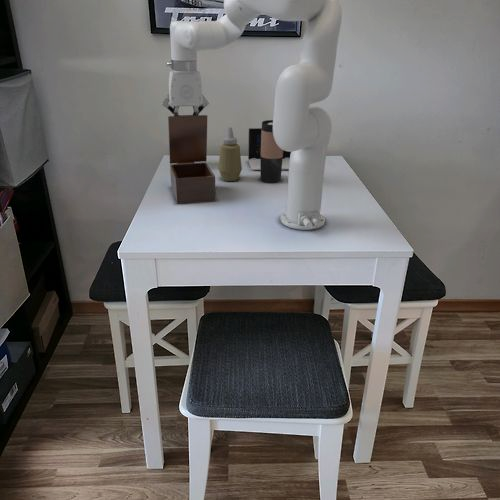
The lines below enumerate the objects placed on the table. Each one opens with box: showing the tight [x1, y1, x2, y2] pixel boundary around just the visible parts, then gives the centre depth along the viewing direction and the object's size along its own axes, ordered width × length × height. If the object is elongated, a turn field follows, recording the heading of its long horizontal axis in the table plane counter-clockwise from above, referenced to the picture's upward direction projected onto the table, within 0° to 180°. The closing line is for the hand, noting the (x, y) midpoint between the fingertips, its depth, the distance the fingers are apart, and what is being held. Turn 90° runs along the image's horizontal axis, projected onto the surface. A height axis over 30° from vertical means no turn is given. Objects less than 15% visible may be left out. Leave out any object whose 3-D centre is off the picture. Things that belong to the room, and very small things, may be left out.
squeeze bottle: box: [218, 126, 243, 182], centre depth 163 cm, size 8×8×18 cm
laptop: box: [247, 127, 291, 171], centre depth 179 cm, size 18×12×13 cm
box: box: [169, 161, 217, 205], centre depth 151 cm, size 15×12×8 cm
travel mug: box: [260, 119, 283, 184], centre depth 162 cm, size 8×8×20 cm
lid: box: [167, 114, 208, 165], centre depth 152 cm, size 16×12×5 cm
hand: (186, 126), depth 151 cm, fingers closed on lid, 4 cm apart
